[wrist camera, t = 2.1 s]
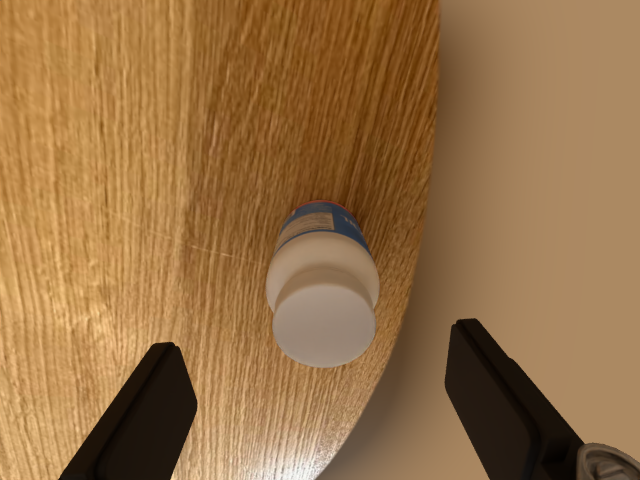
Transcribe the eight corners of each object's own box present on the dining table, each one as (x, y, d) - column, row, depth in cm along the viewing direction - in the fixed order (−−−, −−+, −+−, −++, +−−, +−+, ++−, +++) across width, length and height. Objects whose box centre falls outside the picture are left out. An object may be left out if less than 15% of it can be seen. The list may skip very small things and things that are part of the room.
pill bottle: (368, 258, 21) (409, 366, 12) (297, 279, 21) (284, 397, 12) (347, 185, 19) (377, 250, 10) (268, 210, 19) (229, 294, 10)
